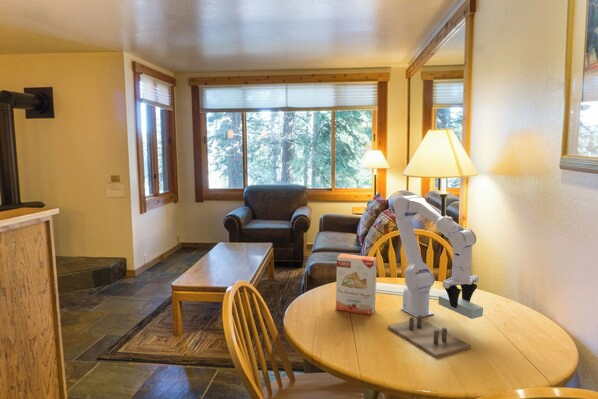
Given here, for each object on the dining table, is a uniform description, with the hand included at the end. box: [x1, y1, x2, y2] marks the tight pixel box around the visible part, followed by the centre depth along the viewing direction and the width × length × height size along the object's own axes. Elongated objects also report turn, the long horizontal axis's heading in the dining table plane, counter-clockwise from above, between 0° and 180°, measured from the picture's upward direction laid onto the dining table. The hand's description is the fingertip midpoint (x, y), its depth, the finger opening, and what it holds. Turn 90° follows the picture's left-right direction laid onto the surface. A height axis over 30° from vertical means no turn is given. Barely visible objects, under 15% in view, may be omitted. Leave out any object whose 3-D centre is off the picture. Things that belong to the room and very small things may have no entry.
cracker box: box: [335, 253, 378, 316], centre depth 150 cm, size 14×6×21 cm, turn 68°
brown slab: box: [387, 315, 472, 359], centre depth 128 cm, size 22×14×5 cm, turn 26°
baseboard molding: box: [376, 282, 447, 301], centre depth 170 cm, size 31×3×12 cm
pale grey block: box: [438, 294, 484, 320], centre depth 134 cm, size 14×5×3 cm, turn 26°
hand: (459, 305), depth 134 cm, fingers closed on pale grey block, 5 cm apart
